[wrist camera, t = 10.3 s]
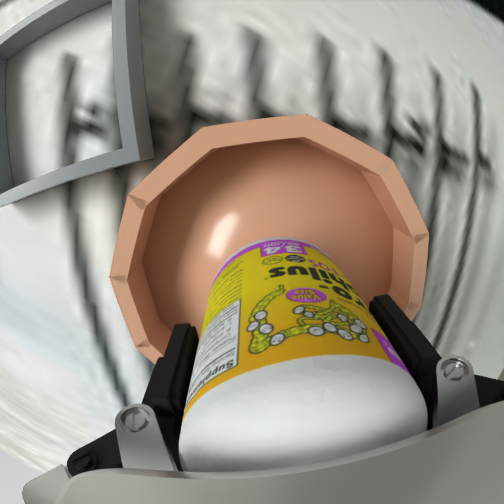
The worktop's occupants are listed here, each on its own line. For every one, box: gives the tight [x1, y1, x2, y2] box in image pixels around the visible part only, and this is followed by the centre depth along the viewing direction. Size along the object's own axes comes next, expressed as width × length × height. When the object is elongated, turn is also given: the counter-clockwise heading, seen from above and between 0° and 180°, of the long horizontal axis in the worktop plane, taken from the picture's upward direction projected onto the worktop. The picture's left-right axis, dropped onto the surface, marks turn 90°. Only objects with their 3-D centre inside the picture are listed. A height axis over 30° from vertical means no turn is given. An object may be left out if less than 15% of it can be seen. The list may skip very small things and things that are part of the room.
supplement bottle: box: [179, 236, 428, 472], centre depth 9 cm, size 7×7×13 cm
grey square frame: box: [0, 0, 155, 207], centre depth 12 cm, size 13×13×2 cm
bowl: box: [109, 114, 429, 364], centre depth 16 cm, size 17×17×4 cm
